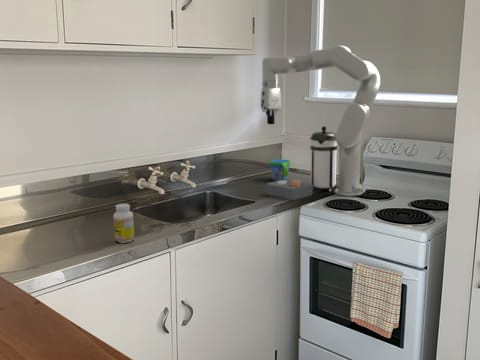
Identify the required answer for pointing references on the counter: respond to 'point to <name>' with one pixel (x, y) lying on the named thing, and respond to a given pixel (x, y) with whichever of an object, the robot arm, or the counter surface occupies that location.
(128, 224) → the supplement bottle
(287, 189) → the block
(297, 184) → the terracotta plug
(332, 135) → the coffee press
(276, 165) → the snack cup
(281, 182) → the plug
